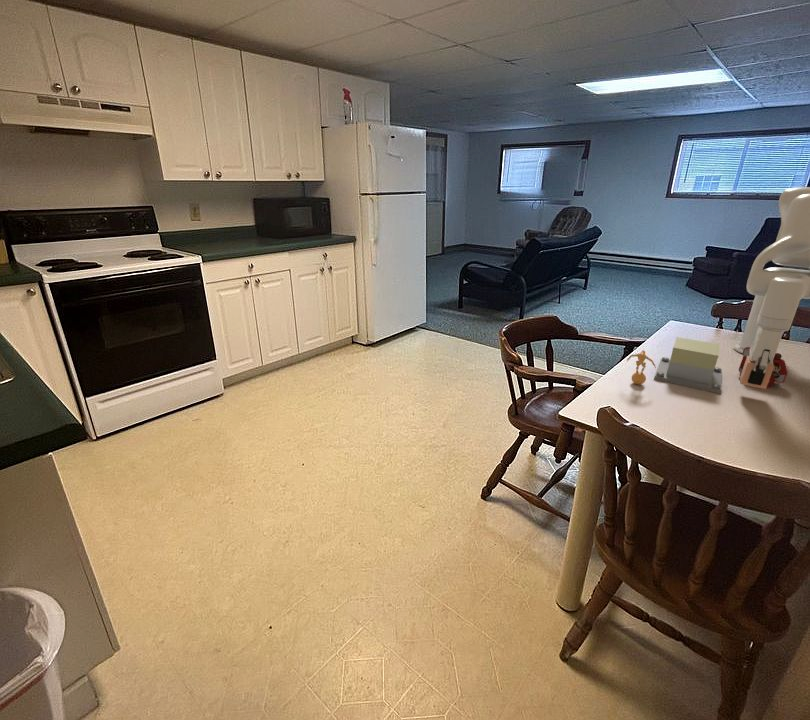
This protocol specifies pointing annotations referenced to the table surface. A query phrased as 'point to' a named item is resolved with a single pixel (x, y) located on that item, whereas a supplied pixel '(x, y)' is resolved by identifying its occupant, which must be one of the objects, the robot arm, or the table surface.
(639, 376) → the figurine
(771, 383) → the toy fire truck
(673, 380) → the grey yellow stepped block
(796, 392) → the table surface
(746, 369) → the terracotta brick
